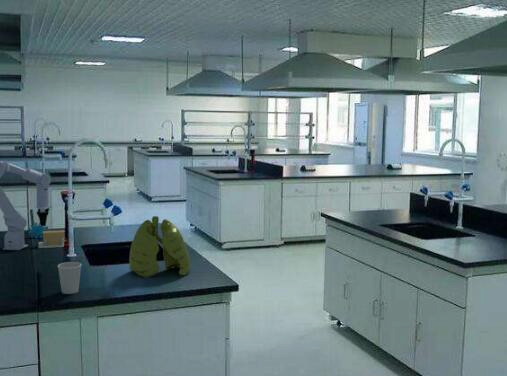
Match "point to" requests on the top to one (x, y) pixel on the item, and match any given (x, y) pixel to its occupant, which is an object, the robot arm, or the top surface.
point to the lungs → (148, 248)
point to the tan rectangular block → (53, 237)
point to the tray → (50, 245)
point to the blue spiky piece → (37, 230)
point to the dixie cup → (69, 276)
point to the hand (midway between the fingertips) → (43, 224)
